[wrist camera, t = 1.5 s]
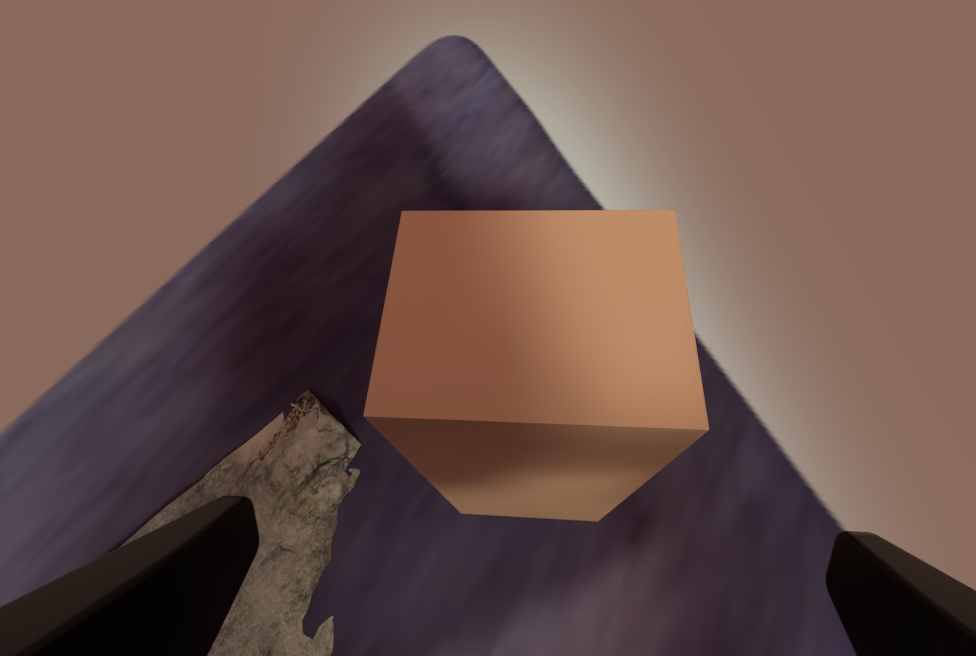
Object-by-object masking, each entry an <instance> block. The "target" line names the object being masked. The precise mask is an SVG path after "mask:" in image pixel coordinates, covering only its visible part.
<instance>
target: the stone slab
mask: <svg viewBox="0 0 976 656" xmlns="http://www.w3.org/2000/svg"><path fill="white" fill-rule="evenodd" d="M301 398H303V400H302V401H301V402H300V403H298V400H299V399H301ZM291 405H292V407H293V406H294V408H293V410H292V411H291V412H290V413H289V415H288V417H287V419H286V421H285V422H284V415H283V413H281V414H280V415H279V416H277V417H276V418H275V419H274V420H273V421H272V422H270V423H269V424H268V425H267V426H266V427H265V428H263V429H262V430H261V431H260V432H259V433H257V434H256V435H255V436H254V437H252V438H251V439H250V440H249V441H247V442H246V443H245V444H244V445H242V446H241V447H239V448H238V449H237V450H235V451H234V452H233V453H231V454H230V455H228V456H227V457H226V458H224V459H223V460H222V461H221V462H219V463H218V464H217V465H216V466H215V467H213V468H212V469H211V470H210V471H209V472H208V473H207V474H206V475H205V476H204V477H203V478H202V479H201V480H200V481H199V482H198V483H196V484H195V485H194V486H192V487H191V488H190V489H189V490H188V491H186V492H185V493H184V494H182V495H181V496H180V497H178V498H177V499H176V500H174V501H173V502H172V503H170V504H169V505H168V506H167V507H165V508H164V509H163V510H162V511H160V512H159V513H158V514H157V515H156V516H154V517H153V518H152V519H151V520H150V521H149V522H148V523H146V524H145V525H144V526H143V527H142V528H141V529H140V530H139V531H137V532H136V533H135V534H134V535H133V536H132V537H131V538H130V539H128V540H127V541H126V542H125V543H124V544H123V545H125V544H127V543H129V542H131V541H133V540H135V539H137V538H139V537H141V536H143V535H146V534H148V533H150V532H152V531H154V530H156V529H158V528H160V527H162V526H164V525H166V524H168V523H170V522H172V521H174V520H176V519H178V518H180V517H182V516H184V515H186V514H188V513H190V512H192V511H194V510H196V509H198V508H200V507H202V506H204V505H206V504H208V503H210V502H212V501H214V500H216V499H218V498H220V497H222V496H226V495H231V496H246V497H248V498H250V499H251V500H252V502H253V505H254V510H255V516H256V521H257V526H258V531H259V538H260V540H259V548H258V551H257V554H256V556H255V558H254V560H253V563H252V565H251V567H250V569H249V571H248V573H247V575H246V577H245V579H244V581H243V584H242V586H241V588H240V590H239V592H238V594H237V596H236V598H235V600H234V602H233V605H232V607H231V609H230V611H229V613H228V615H227V617H226V619H225V621H224V623H223V626H222V628H221V630H220V632H219V634H218V636H217V638H216V640H215V642H214V644H213V646H212V648H211V650H210V651H209V653H208V655H207V656H331V654H332V648H333V636H334V635H333V630H334V626H333V622H332V619H333V616H331V617H330V618H329V619H328V620H326V621H325V622H324V623H323V624H322V625H321V626H320V627H319V629H318V631H317V633H316V635H315V636H314V638H313V639H311V638H309V637H306V636H305V635H304V634H303V633H302V632H303V630H302V619H303V617H304V616H305V614H306V613H307V610H308V607H309V604H310V599H311V594H312V593H313V591H314V590H315V588H316V585H317V583H318V581H319V578H320V576H321V573H322V572H323V570H324V568H325V566H326V565H327V563H328V562H329V561H330V559H331V557H332V554H331V542H332V538H333V535H334V532H335V529H336V526H337V515H338V507H339V506H340V504H341V502H342V500H343V499H344V497H345V495H346V494H347V493H348V492H349V491H350V490H352V488H353V487H354V485H355V483H356V481H357V479H358V475H359V473H360V470H359V469H356V468H351V469H350V470H348V471H350V472H351V473H352V475H351V476H350V477H349V476H348V475H347V474H346V473H345V472H344V470H346V468H347V466H348V464H349V462H350V461H351V460H352V459H353V457H354V456H355V453H356V452H357V450H358V448H359V447H360V445H361V444H360V443H359V442H358V441H357V440H356V439H355V438H354V437H353V436H352V435H351V434H350V433H349V432H348V431H347V430H346V428H345V427H344V426H343V425H342V424H341V423H340V422H338V421H337V419H336V418H335V417H334V416H333V415H332V414H331V413H330V412H329V411H328V410H327V409H326V408H325V407H324V406H323V405H322V404H321V403H320V402H319V400H318V399H317V398H316V397H315V396H314V395H313V394H312V393H311V392H310V391H309V390H308V389H306V390H305V391H304V392H303V393H302V394H301V396H300V397H299V398H298V399H296V400H294V401H293V402H291ZM283 422H284V423H283ZM282 423H283V424H282ZM274 434H276V436H274ZM123 545H122V546H123Z"/></svg>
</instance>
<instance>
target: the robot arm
mask: <svg viewBox="0 0 976 656" xmlns="http://www.w3.org/2000/svg"><path fill="white" fill-rule="evenodd" d="M259 540H260V538H259V531H258V526H257V521H256V516H255V510H254V505H253V502H252V500H251V499H250V498H248V497H246V496H231V495H226V496H222V497H220V498H218V499H216V500H214V501H212V502H210V503H208V504H206V505H204V506H202V507H200V508H198V509H196V510H194V511H192V512H190V513H188V514H186V515H184V516H182V517H180V518H178V519H176V520H174V521H172V522H170V523H168V524H166V525H164V526H162V527H160V528H158V529H156V530H154V531H152V532H150V533H148V534H146V535H143V536H141V537H139V538H137V539H135V540H133V541H131V542H129V543H127V544H125V545H123V546H121V547H119V548H117V549H115V550H113V551H111V552H109V553H107V554H105V555H103V556H101V557H99V558H97V559H95V560H93V561H91V562H89V563H87V564H85V565H83V566H81V567H79V568H77V569H75V570H73V571H71V572H69V573H67V574H65V575H63V576H61V577H59V578H57V579H55V580H53V581H51V582H49V583H47V584H45V585H43V586H41V587H39V588H37V589H35V590H33V591H31V592H29V593H27V594H25V595H23V596H21V597H19V598H17V599H15V600H13V601H11V602H9V603H7V604H5V605H3V606H1V607H0V656H207V655H208V653H209V651H210V650H211V648H212V646H213V644H214V642H215V640H216V638H217V636H218V634H219V632H220V630H221V628H222V626H223V623H224V621H225V619H226V617H227V615H228V613H229V611H230V609H231V607H232V605H233V602H234V600H235V598H236V596H237V594H238V592H239V590H240V588H241V586H242V584H243V581H244V579H245V577H246V575H247V573H248V571H249V569H250V567H251V565H252V563H253V560H254V558H255V556H256V554H257V551H258V548H259ZM826 586H827V590H828V593H829V596H830V598H831V600H832V602H833V604H834V607H835V609H836V611H837V613H838V615H839V618H840V620H841V622H842V624H843V627H844V629H845V631H846V633H847V635H848V638H849V640H850V642H851V644H852V646H853V649H854V651H855V653H856V655H857V656H976V591H975V590H973V589H972V588H970V587H968V586H966V585H965V584H963V583H961V582H959V581H958V580H956V579H954V578H952V577H951V576H949V575H947V574H945V573H943V572H942V571H940V570H938V569H936V568H935V567H933V566H931V565H929V564H927V563H926V562H924V561H922V560H920V559H918V558H917V557H915V556H913V555H911V554H910V553H908V552H906V551H904V550H903V549H901V548H899V547H897V546H895V545H894V544H892V543H890V542H888V541H887V540H885V539H883V538H881V537H880V536H878V535H876V534H873V533H869V532H853V531H843V532H840V533H839V534H838V535H837V536H836V539H835V542H834V546H833V549H832V553H831V557H830V561H829V565H828V568H827V572H826Z"/></svg>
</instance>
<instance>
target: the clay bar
mask: <svg viewBox="0 0 976 656" xmlns="http://www.w3.org/2000/svg"><path fill="white" fill-rule="evenodd" d="M363 417H364V418H365V419H366V420H367V421H368V422H369V423H370V424H371V425H373V426H374V427H375V428H376V429H377V430H378V431H379V432H380V433H381V434H382V435H383V436H384V437H385V438H386V439H387V440H388V441H389V442H390V443H391V444H392V445H393V446H394V447H395V448H396V449H397V450H398V451H399V452H400V453H401V454H402V455H403V456H404V457H405V458H406V459H407V460H408V461H409V462H410V463H411V464H412V465H413V466H414V467H415V468H416V469H417V470H418V471H419V472H420V473H421V474H422V475H423V476H424V477H425V478H426V479H427V480H428V481H429V482H430V483H431V484H432V485H433V486H434V487H435V488H436V489H437V490H438V491H439V492H440V493H441V494H442V495H443V496H444V497H445V498H446V499H447V500H448V501H449V502H450V503H451V504H452V505H453V506H454V507H455V508H456V509H457V510H458V511H459V512H460V513H462V514H479V515H496V516H514V517H531V518H548V519H566V520H583V521H599V520H600V519H601V518H602V517H604V516H605V515H606V514H607V513H609V512H610V511H611V510H612V509H613V508H615V507H616V506H617V505H618V504H619V503H621V502H622V501H623V500H624V499H626V498H627V497H628V496H629V495H630V494H632V493H633V492H634V491H635V490H637V489H638V488H639V487H640V486H641V485H643V484H644V483H645V482H646V481H648V480H649V479H650V478H651V477H652V476H654V475H655V474H656V473H657V472H658V471H660V470H661V469H662V468H663V467H665V466H666V465H667V464H668V463H669V462H671V461H672V460H673V459H674V458H676V457H677V456H678V455H679V454H680V453H682V452H683V451H684V450H685V449H686V448H688V447H689V446H690V445H691V444H693V443H694V442H695V441H696V440H697V439H699V438H700V437H701V436H702V435H704V434H705V433H706V432H707V431H708V430H709V426H708V419H707V413H706V406H705V400H704V393H703V387H702V381H701V374H700V368H699V361H698V355H697V348H696V342H695V335H694V329H693V323H692V317H691V310H690V303H689V297H688V291H687V284H686V277H685V271H684V265H683V258H682V252H681V245H680V239H679V232H678V226H677V219H676V213H675V210H610V211H609V210H558V211H402V213H401V218H400V224H399V229H398V234H397V240H396V245H395V250H394V256H393V261H392V266H391V272H390V277H389V282H388V288H387V293H386V298H385V303H384V309H383V314H382V319H381V325H380V330H379V335H378V341H377V346H376V351H375V357H374V362H373V367H372V373H371V378H370V383H369V388H368V394H367V399H366V404H365V410H364V415H363Z"/></svg>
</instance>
